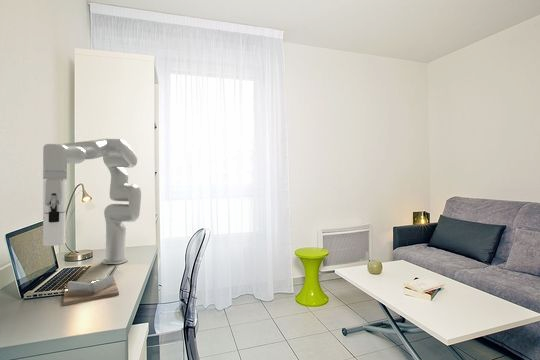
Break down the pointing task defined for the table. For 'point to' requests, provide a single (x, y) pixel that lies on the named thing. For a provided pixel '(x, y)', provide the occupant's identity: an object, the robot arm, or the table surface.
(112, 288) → the v cradle
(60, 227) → the cylindrical container
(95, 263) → the table surface
